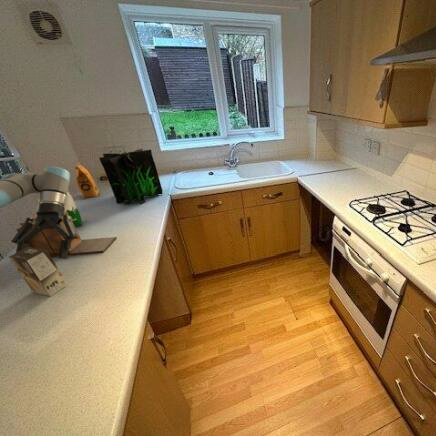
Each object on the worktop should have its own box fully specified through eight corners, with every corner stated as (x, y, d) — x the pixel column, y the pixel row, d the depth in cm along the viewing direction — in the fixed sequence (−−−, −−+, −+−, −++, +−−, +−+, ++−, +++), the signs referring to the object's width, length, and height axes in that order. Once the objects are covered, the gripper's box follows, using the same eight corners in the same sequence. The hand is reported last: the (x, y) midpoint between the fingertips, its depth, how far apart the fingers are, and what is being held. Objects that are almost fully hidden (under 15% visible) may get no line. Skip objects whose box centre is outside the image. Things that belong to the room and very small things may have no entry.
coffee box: (69, 284, 91) (48, 249, 83) (50, 296, 85) (26, 260, 78) (50, 280, 93) (29, 246, 85) (31, 292, 87) (6, 256, 80)
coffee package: (81, 199, 165) (66, 168, 155) (83, 193, 175) (70, 164, 164) (98, 196, 170) (85, 165, 159) (100, 191, 179) (88, 162, 169)
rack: (34, 258, 105) (13, 225, 97) (54, 243, 116) (36, 212, 108) (103, 252, 109) (88, 219, 101) (116, 238, 119) (103, 207, 111)
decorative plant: (105, 202, 160) (87, 157, 146) (143, 187, 185) (130, 147, 171) (138, 207, 152) (122, 160, 138) (172, 191, 177) (162, 149, 163)
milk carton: (63, 230, 127) (45, 195, 118) (63, 224, 133) (46, 190, 124) (84, 225, 132) (68, 191, 123) (83, 219, 138) (68, 186, 129)
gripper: (93, 206, 97) (87, 257, 91) (24, 211, 94) (13, 265, 88) (80, 199, 90) (72, 254, 84) (4, 204, 87) (-10, 262, 81)
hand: (41, 260), depth 86 cm, fingers open, 13 cm apart
